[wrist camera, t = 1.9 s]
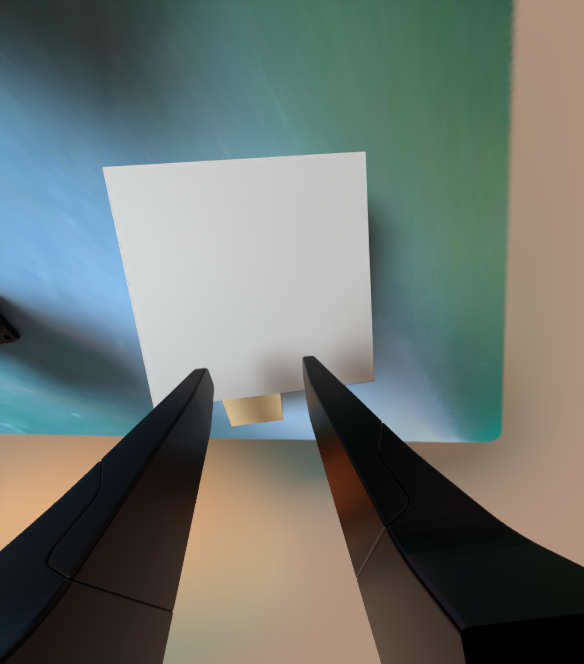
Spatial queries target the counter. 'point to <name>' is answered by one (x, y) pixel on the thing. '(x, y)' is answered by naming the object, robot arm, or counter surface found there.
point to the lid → (247, 269)
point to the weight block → (254, 409)
